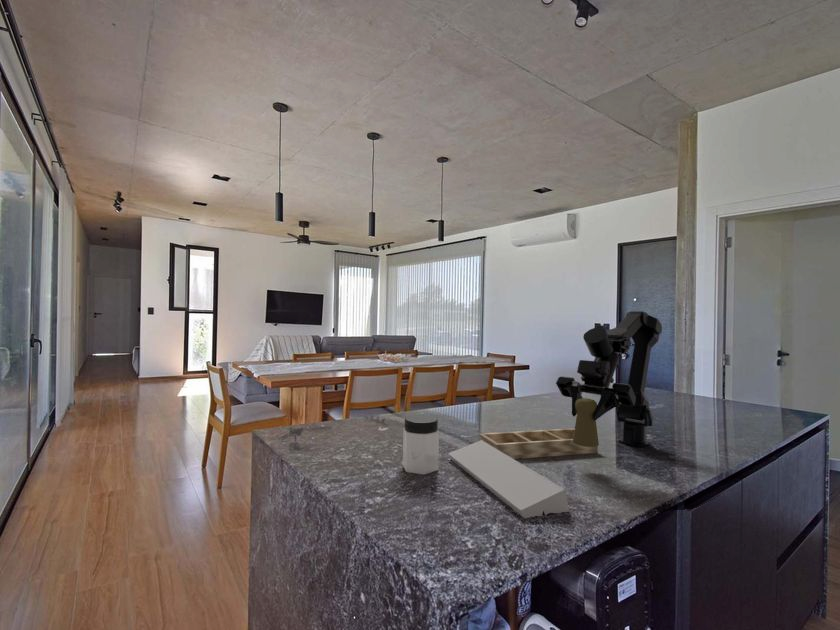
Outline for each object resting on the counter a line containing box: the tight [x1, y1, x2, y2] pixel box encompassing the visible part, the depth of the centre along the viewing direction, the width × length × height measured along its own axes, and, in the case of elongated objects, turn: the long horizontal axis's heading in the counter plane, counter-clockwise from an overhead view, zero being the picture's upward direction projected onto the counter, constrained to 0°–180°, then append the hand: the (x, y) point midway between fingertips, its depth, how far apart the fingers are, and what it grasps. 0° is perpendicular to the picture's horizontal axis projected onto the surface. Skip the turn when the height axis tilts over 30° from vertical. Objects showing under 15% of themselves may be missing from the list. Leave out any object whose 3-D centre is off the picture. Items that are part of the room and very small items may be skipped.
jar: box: [402, 414, 440, 476], centre depth 102 cm, size 9×8×12 cm
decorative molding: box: [447, 440, 570, 519], centre depth 95 cm, size 34×5×10 cm
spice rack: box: [478, 427, 599, 460], centre depth 119 cm, size 31×11×4 cm, turn 106°
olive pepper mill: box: [573, 397, 600, 447], centre depth 105 cm, size 6×6×11 cm
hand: (583, 417), depth 104 cm, fingers closed on olive pepper mill, 5 cm apart
